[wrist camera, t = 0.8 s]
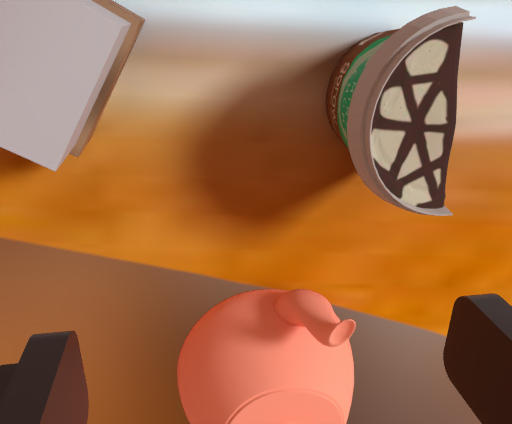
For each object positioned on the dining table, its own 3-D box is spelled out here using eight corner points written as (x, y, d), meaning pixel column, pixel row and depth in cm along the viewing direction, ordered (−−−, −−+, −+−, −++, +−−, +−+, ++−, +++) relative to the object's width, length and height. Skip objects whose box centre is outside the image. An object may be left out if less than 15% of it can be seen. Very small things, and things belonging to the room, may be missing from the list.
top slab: (-18, -64, 23) (-64, -82, 19) (131, 23, 26) (122, 26, 21) (-67, 78, 25) (-120, 93, 21) (74, 145, 28) (55, 171, 23)
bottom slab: (5, -63, 27) (-29, -77, 23) (145, 19, 30) (140, 21, 26) (-43, 73, 30) (-82, 85, 25) (91, 137, 33) (77, 157, 28)
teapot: (219, 213, 37) (239, 301, 25) (381, 253, 41) (458, 344, 30) (151, 416, 44) (143, 553, 33) (294, 433, 48) (330, 560, 37)
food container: (308, 14, 32) (362, 15, 23) (393, 7, 32) (477, 5, 23) (312, 180, 37) (357, 236, 28) (384, 171, 37) (452, 222, 28)
